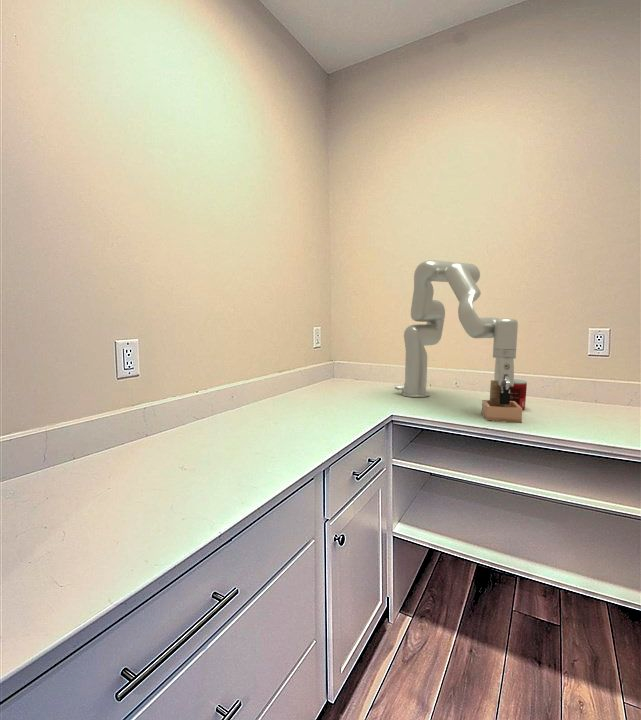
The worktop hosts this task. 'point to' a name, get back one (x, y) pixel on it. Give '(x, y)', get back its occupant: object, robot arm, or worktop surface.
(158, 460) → the worktop surface
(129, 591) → the worktop surface
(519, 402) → the canned food
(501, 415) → the wooden tray
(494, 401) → the tan brown block
